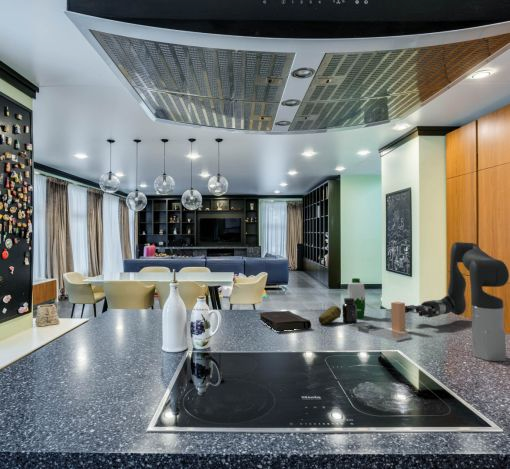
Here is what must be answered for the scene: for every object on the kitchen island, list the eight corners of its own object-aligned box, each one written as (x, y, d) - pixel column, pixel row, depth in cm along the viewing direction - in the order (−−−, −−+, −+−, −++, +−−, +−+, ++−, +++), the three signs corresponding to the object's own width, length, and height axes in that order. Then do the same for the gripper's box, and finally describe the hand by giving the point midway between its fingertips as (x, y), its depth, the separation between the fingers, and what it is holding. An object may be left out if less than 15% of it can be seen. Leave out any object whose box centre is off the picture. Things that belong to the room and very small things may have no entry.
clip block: (405, 330, 155) (404, 303, 155) (399, 331, 153) (398, 303, 153) (397, 328, 159) (397, 301, 159) (391, 329, 157) (391, 302, 157)
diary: (289, 319, 187) (289, 310, 187) (311, 330, 164) (311, 319, 164) (256, 322, 182) (256, 312, 182) (273, 333, 158) (273, 322, 158)
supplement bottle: (355, 321, 178) (355, 297, 178) (358, 324, 171) (357, 299, 171) (341, 321, 178) (341, 297, 179) (343, 324, 172) (343, 299, 172)
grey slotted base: (411, 340, 143) (411, 334, 143) (396, 343, 139) (396, 338, 139) (362, 327, 166) (362, 322, 166) (348, 329, 161) (348, 325, 161)
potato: (313, 322, 177) (313, 306, 177) (337, 320, 180) (336, 304, 180) (321, 326, 169) (321, 309, 169) (345, 324, 172) (345, 307, 172)
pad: (414, 332, 154) (414, 330, 154) (400, 335, 150) (400, 333, 150) (396, 328, 162) (396, 326, 162) (383, 331, 158) (383, 329, 158)
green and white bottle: (365, 315, 191) (364, 278, 192) (365, 319, 182) (364, 280, 183) (348, 314, 194) (347, 278, 194) (347, 318, 185) (347, 279, 185)
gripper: (419, 298, 175) (397, 301, 167) (447, 302, 162) (425, 306, 154) (419, 313, 174) (398, 317, 166) (447, 319, 162) (425, 323, 154)
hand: (411, 312), depth 160 cm, fingers open, 8 cm apart
